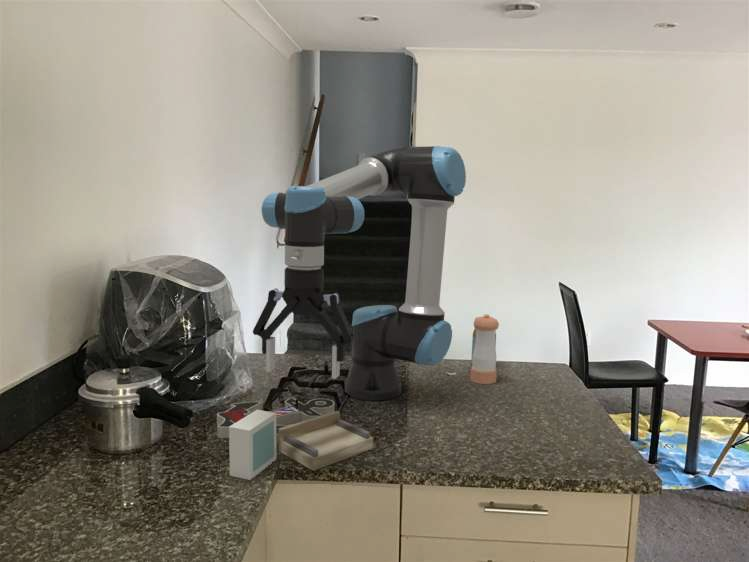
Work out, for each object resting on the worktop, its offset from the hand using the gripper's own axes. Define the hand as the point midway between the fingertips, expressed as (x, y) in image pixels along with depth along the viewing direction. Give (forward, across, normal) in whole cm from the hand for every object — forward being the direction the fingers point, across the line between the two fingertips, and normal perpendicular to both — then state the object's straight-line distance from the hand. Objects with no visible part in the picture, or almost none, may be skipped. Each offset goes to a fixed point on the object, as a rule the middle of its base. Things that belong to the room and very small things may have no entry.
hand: (302, 373), depth 131 cm
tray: (+19, +3, +8) cm, 20 cm away
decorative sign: (+19, -13, +19) cm, 30 cm away
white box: (+19, -8, -4) cm, 21 cm away
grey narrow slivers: (+18, +30, +78) cm, 86 cm away
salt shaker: (+18, +31, +66) cm, 75 cm away
